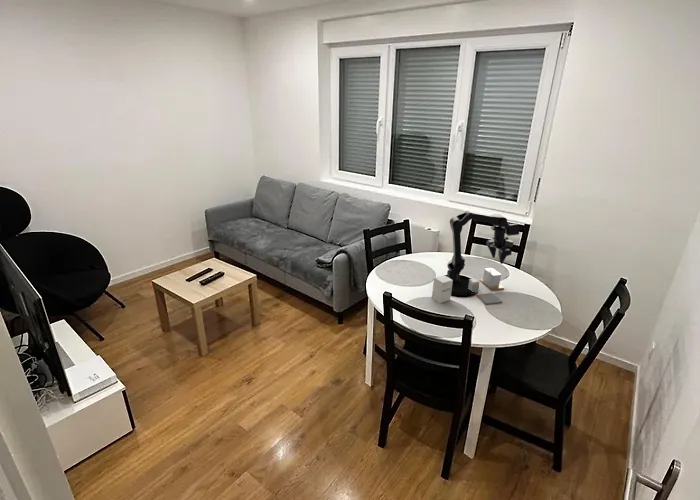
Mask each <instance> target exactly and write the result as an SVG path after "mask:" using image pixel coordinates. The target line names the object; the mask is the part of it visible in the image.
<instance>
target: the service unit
mask: <svg viewBox="0 0 700 500" xmlns="http://www.w3.org/2000/svg"><path fill="white" fill-rule="evenodd" d="M501 278H502V274H501V273H500V272H499V271H497V270H496V269H494V268H493V267H488V268H487V267H486V268H484V271H483V277H482V279H480V280H479V282H481V283H482V284H483V285H484V286H485V287H486V288H488V289H489V291H491V292H493V291H499V290H504V289H505V287H504V286H503V285H501V284H500V283H501Z"/></svg>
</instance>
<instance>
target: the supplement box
mask: <svg viewBox="0 0 700 500" xmlns="http://www.w3.org/2000/svg"><path fill="white" fill-rule="evenodd" d="M432 285H433V286H432V293H431V298H432V299H433V300H435V301H436V302H438V303H439V304H441V303H445V302H448V301H450V300H451V297H452V290H453V280H452V279H450V278H448V277H447V275H446V274H445V275H439V276H435V277H434V278H433V284H432Z"/></svg>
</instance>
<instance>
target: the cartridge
mask: <svg viewBox="0 0 700 500" xmlns="http://www.w3.org/2000/svg"><path fill="white" fill-rule="evenodd" d="M479 286H480V280H478V278H469V279H468V286H467V287H468V288H467V290H468V289H469V290H471V291H472V292H475V293H474V294H479V288H480V287H479Z"/></svg>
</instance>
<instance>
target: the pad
mask: <svg viewBox="0 0 700 500" xmlns="http://www.w3.org/2000/svg"><path fill="white" fill-rule="evenodd" d="M475 296H476V297H477V298H478V299H479V300H480V301H481V302H482V303H483V304H484V305H486V306H487V305H493V304H494V305H495V304H502V303H503V300H502V299H500V298H499V297H498V296H497V295H495V294H494V293H493V291H491V292H484V293H482V292H481V293H475Z"/></svg>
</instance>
